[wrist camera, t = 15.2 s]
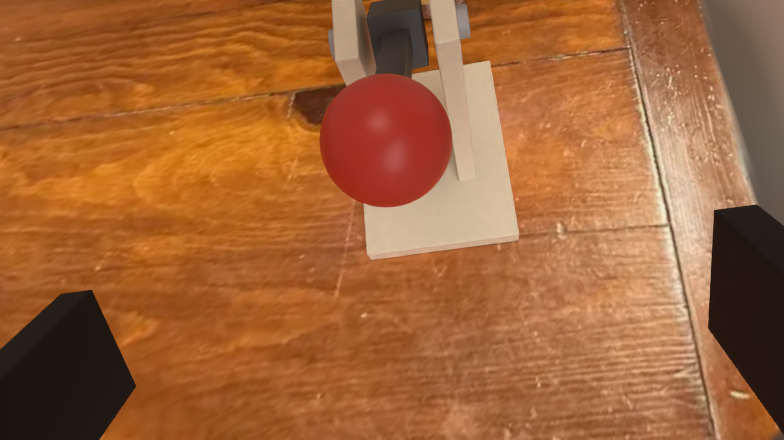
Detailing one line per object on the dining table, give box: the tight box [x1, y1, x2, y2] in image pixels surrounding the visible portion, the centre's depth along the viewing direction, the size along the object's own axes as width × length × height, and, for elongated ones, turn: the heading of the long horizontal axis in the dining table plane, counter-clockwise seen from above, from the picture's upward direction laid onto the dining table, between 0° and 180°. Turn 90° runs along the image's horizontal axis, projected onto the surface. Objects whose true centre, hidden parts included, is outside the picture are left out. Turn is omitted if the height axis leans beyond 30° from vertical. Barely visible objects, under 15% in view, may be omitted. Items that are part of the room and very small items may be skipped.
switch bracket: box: [328, 0, 519, 260], centre depth 30 cm, size 12×9×15 cm
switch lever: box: [320, 0, 452, 207], centre depth 20 cm, size 14×4×4 cm
